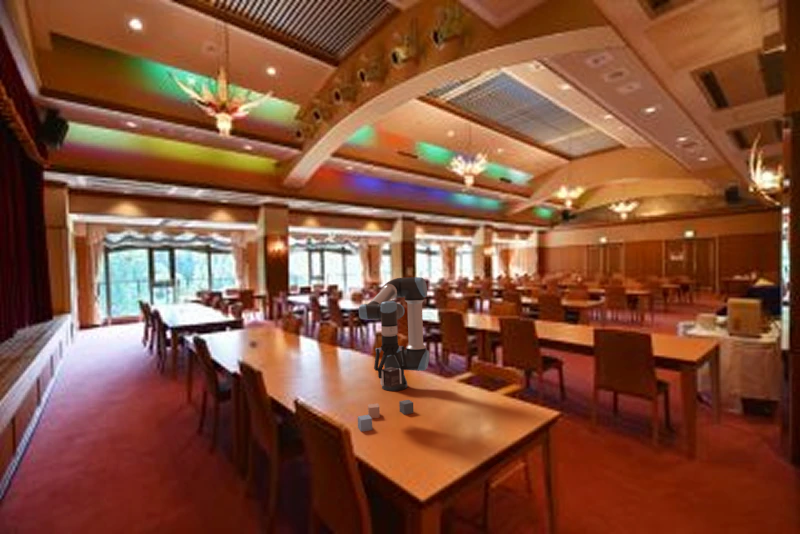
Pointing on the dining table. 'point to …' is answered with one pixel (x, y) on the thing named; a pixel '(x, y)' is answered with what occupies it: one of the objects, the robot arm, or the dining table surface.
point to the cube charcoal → (406, 407)
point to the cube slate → (364, 423)
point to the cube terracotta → (373, 410)
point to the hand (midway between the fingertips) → (391, 384)
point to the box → (391, 376)
